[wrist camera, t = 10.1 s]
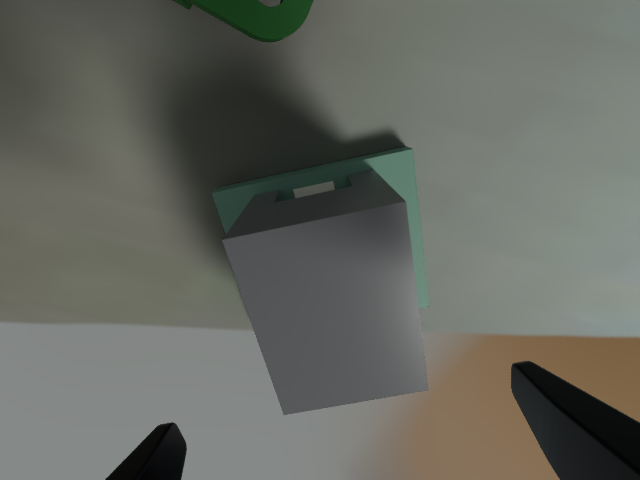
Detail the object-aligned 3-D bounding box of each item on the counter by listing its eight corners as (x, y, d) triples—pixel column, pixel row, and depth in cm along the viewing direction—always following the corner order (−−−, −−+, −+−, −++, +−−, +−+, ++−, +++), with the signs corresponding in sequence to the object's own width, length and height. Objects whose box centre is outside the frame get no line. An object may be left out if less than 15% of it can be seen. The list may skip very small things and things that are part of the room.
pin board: (406, 146, 16) (426, 154, 13) (422, 295, 20) (441, 328, 17) (218, 187, 17) (197, 203, 14) (264, 325, 20) (255, 362, 17)
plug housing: (373, 169, 16) (405, 201, 10) (394, 306, 19) (428, 390, 13) (254, 195, 16) (221, 240, 10) (292, 325, 19) (283, 414, 13)
